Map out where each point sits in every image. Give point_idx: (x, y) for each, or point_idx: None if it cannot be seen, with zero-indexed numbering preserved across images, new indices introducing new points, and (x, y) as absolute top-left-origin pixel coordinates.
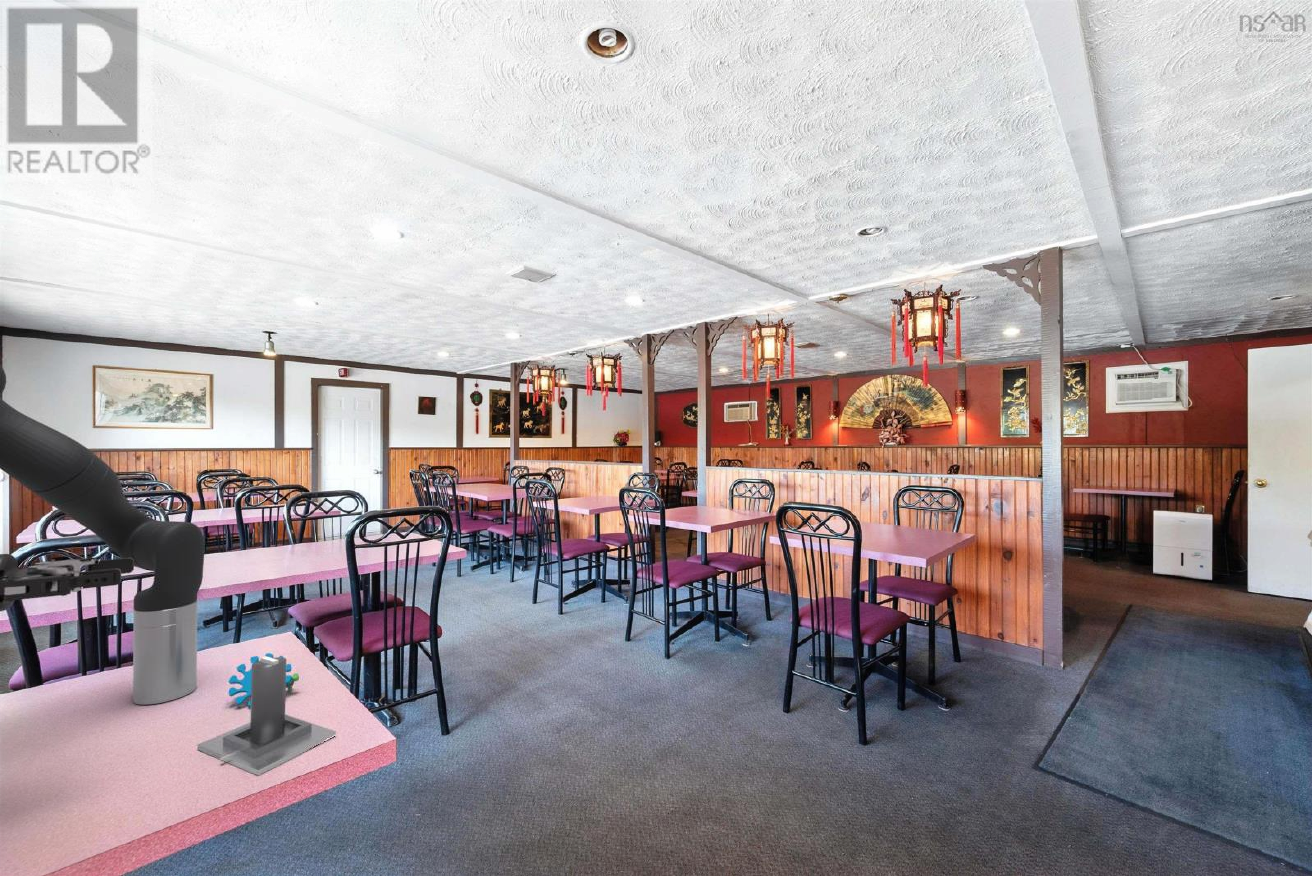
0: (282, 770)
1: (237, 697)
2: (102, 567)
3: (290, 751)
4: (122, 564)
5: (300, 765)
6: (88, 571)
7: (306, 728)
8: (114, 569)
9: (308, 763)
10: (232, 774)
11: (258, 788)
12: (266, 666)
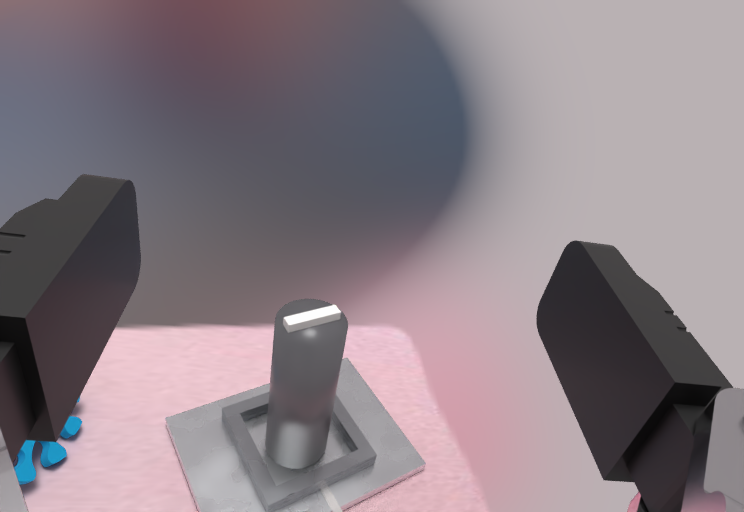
0: (422, 437)
1: (16, 473)
2: (55, 356)
3: (381, 417)
4: (118, 248)
5: (419, 415)
6: (682, 356)
7: None
8: (616, 253)
9: (419, 406)
10: (393, 506)
11: (467, 471)
12: (338, 328)
